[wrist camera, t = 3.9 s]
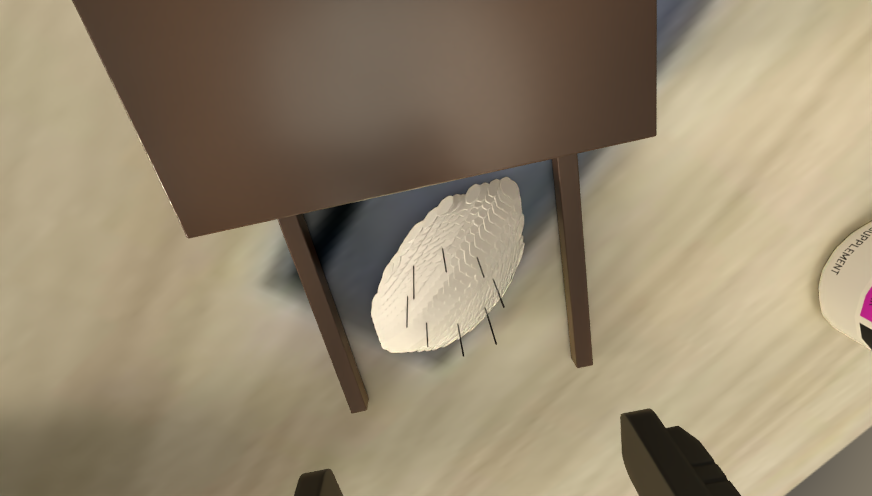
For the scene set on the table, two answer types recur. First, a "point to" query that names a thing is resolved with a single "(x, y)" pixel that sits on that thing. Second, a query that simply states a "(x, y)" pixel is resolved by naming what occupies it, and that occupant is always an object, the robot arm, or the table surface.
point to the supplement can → (850, 287)
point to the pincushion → (451, 269)
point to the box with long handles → (373, 110)
